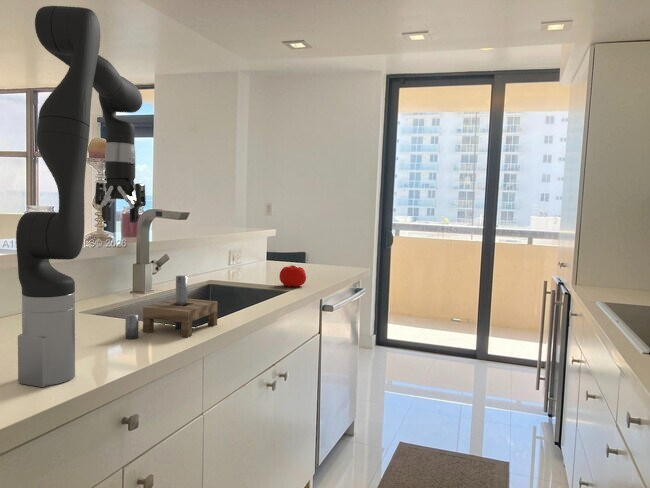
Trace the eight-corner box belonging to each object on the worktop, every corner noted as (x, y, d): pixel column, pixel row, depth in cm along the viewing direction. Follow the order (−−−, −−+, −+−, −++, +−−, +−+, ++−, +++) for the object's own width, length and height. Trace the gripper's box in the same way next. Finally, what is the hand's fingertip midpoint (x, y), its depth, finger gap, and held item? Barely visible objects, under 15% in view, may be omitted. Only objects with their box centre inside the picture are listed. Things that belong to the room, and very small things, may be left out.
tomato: (305, 288, 222) (305, 268, 221) (277, 287, 222) (278, 267, 222) (306, 284, 233) (307, 265, 232) (280, 283, 233) (280, 264, 232)
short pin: (133, 340, 132) (133, 317, 132) (122, 338, 133) (122, 315, 133) (140, 337, 135) (141, 314, 135) (130, 335, 136) (130, 313, 136)
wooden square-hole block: (187, 337, 136) (188, 311, 136) (142, 332, 140) (143, 306, 140) (217, 324, 151) (217, 301, 151) (175, 320, 155) (176, 297, 155)
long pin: (182, 330, 144) (183, 277, 143) (173, 328, 145) (173, 276, 144) (189, 327, 147) (189, 275, 146) (179, 326, 148) (179, 275, 147)
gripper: (88, 159, 135) (88, 221, 136) (134, 160, 131) (133, 223, 132) (107, 162, 142) (107, 220, 143) (151, 162, 138) (151, 222, 139)
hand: (120, 221), depth 138 cm, fingers open, 8 cm apart
